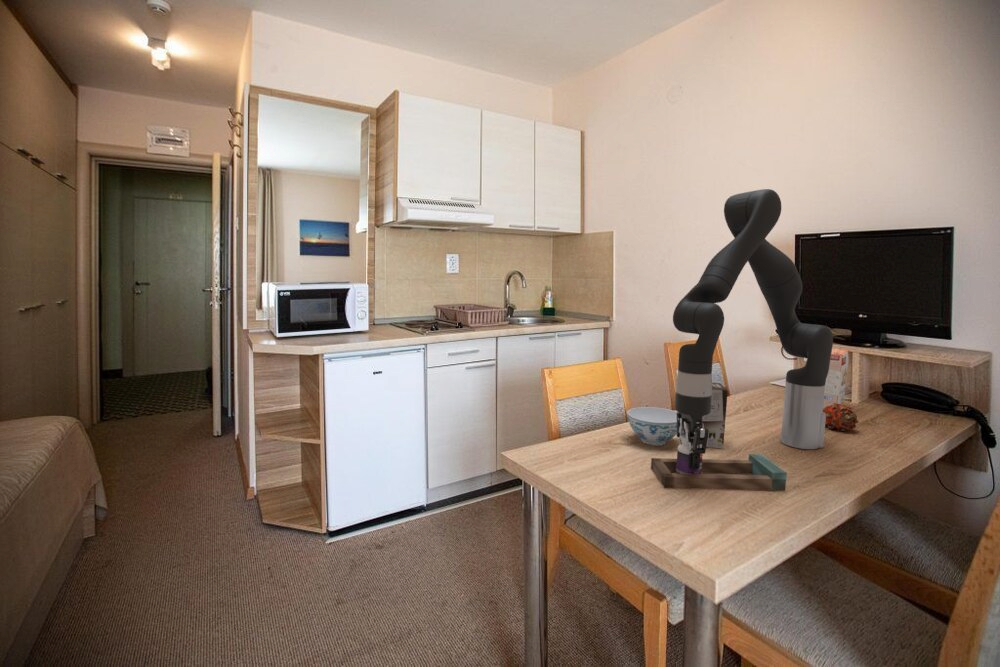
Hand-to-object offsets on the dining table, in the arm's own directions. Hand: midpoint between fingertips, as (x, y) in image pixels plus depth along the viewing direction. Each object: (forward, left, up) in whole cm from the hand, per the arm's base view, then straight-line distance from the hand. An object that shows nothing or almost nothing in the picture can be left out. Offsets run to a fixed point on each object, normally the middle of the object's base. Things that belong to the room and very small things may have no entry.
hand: (689, 463), depth 115 cm
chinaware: (+1, -25, -4) cm, 25 cm away
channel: (-6, 0, -3) cm, 7 cm away
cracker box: (-69, -60, -4) cm, 92 cm away
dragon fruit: (-58, -40, -4) cm, 71 cm away
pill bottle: (0, 0, -4) cm, 4 cm away
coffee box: (-14, -25, -4) cm, 29 cm away
